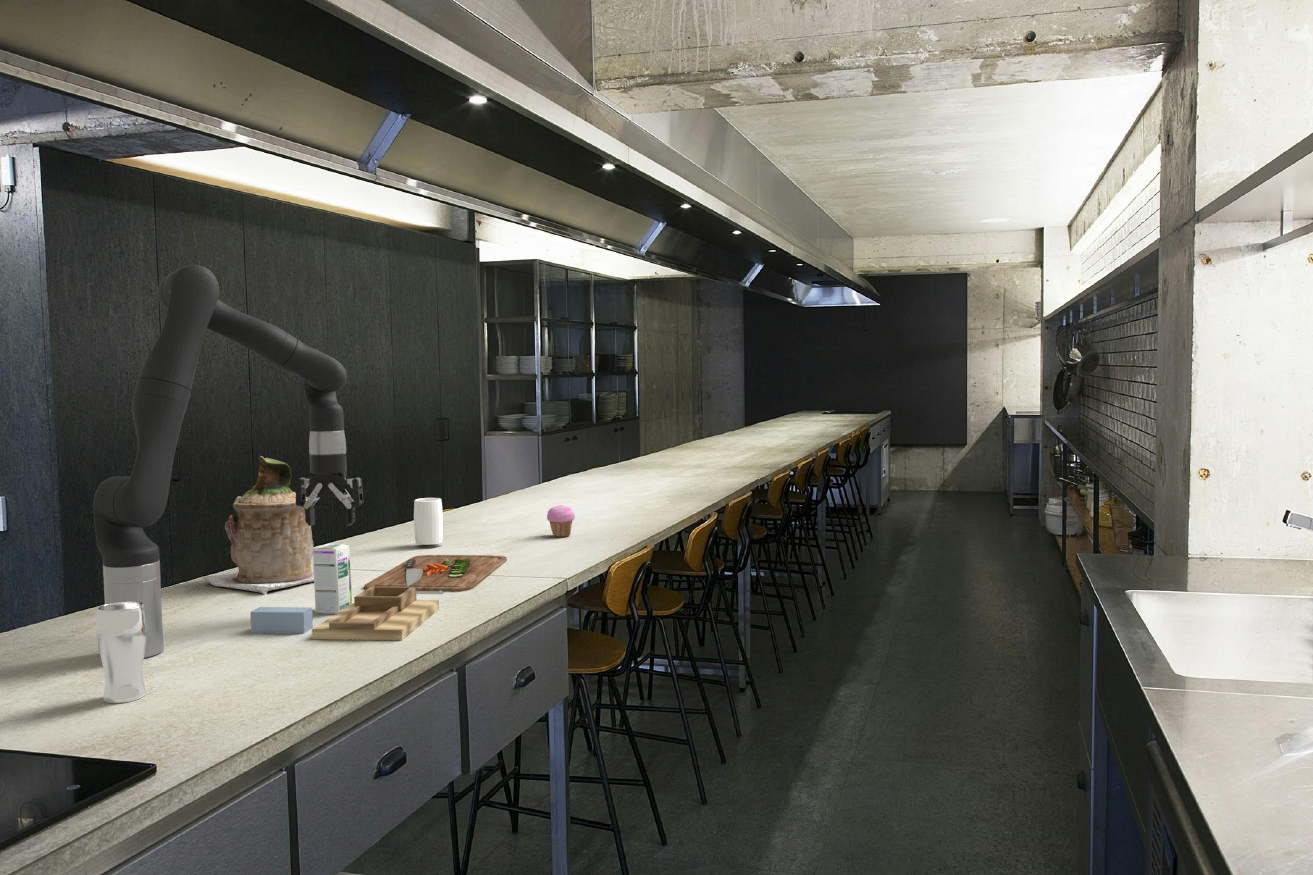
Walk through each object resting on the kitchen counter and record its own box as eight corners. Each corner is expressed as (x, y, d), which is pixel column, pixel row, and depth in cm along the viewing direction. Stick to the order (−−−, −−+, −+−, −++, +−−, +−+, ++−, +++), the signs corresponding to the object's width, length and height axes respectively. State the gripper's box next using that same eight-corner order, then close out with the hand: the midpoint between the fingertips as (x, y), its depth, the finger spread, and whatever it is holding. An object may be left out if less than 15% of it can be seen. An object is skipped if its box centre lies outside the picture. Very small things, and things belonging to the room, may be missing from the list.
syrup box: (339, 614, 204) (336, 548, 203) (314, 613, 205) (312, 547, 204) (352, 608, 210) (350, 543, 209) (328, 606, 211) (326, 542, 210)
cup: (449, 545, 286) (448, 498, 285) (429, 549, 279) (427, 502, 278) (429, 542, 290) (428, 496, 289) (408, 547, 283) (407, 500, 282)
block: (312, 629, 194) (312, 607, 193) (304, 634, 190) (303, 612, 189) (260, 628, 194) (260, 606, 194) (251, 633, 190) (250, 611, 190)
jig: (401, 640, 184) (401, 614, 184) (312, 639, 185) (311, 613, 185) (439, 609, 208) (438, 586, 208) (359, 608, 209) (358, 586, 209)
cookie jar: (345, 576, 243) (341, 452, 241) (262, 596, 222) (257, 460, 220) (282, 567, 256) (277, 449, 254) (198, 585, 235) (192, 457, 232)
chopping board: (466, 596, 222) (465, 583, 222) (355, 595, 224) (355, 582, 224) (511, 558, 267) (511, 548, 267) (419, 557, 269) (418, 547, 269)
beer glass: (157, 689, 156) (153, 600, 155) (135, 704, 149) (131, 610, 148) (114, 690, 156) (110, 600, 155) (90, 705, 149) (86, 611, 148)
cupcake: (579, 537, 298) (579, 505, 297) (554, 539, 294) (553, 507, 293) (567, 533, 306) (567, 502, 305) (542, 535, 301) (542, 504, 301)
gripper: (288, 453, 202) (291, 528, 203) (353, 452, 201) (355, 528, 202) (303, 450, 209) (306, 522, 211) (366, 449, 208) (368, 522, 210)
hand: (330, 525), depth 206 cm, fingers open, 8 cm apart
